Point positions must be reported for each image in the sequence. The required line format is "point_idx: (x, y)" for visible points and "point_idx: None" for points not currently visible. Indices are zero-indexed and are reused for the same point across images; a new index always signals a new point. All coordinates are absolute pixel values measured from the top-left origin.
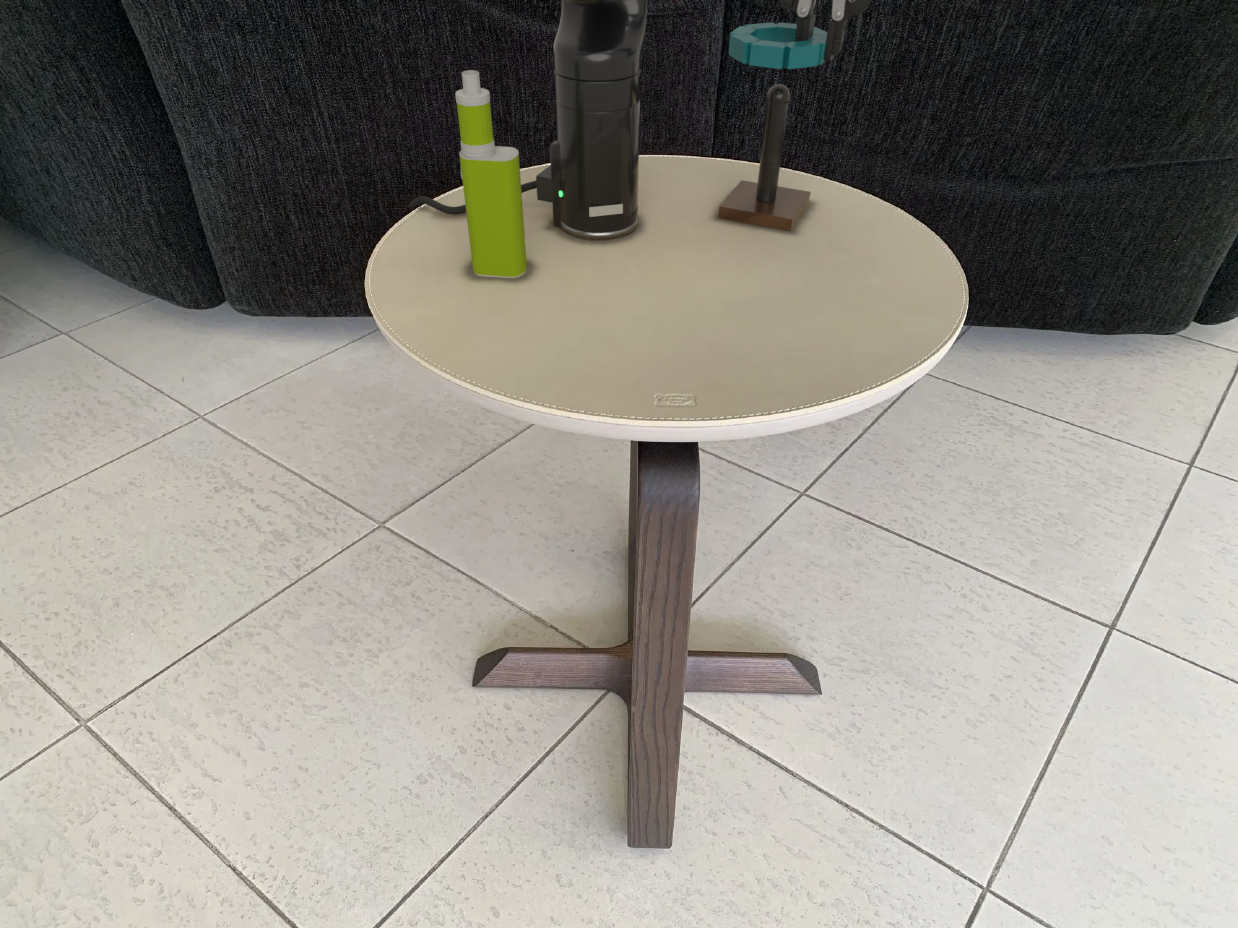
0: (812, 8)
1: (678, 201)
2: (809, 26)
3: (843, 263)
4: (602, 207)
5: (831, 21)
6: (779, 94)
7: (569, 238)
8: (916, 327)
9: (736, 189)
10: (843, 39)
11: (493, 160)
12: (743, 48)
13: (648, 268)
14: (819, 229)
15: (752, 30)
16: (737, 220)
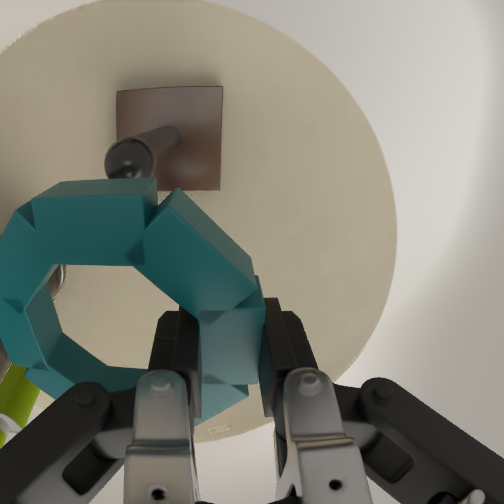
0: (191, 416)
1: (64, 163)
2: (201, 400)
3: (294, 242)
4: None
5: (272, 415)
6: None
7: None
8: (358, 322)
9: (120, 127)
10: (304, 334)
11: (17, 432)
12: None
13: (118, 323)
14: (253, 164)
15: (28, 331)
16: None
